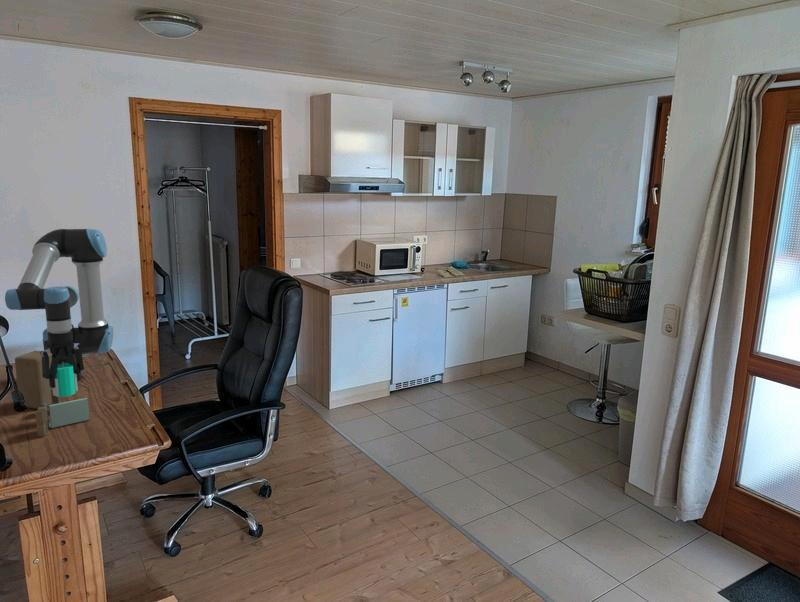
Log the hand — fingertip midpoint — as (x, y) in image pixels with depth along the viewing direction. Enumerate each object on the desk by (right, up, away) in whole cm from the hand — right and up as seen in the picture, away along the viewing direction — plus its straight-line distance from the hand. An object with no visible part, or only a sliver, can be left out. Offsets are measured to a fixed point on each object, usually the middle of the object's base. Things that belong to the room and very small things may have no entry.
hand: (65, 392), depth 207 cm
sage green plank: (+3, -10, -3) cm, 11 cm away
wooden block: (-18, -7, +14) cm, 24 cm away
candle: (0, -1, 0) cm, 1 cm away
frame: (-4, -10, -1) cm, 11 cm away
